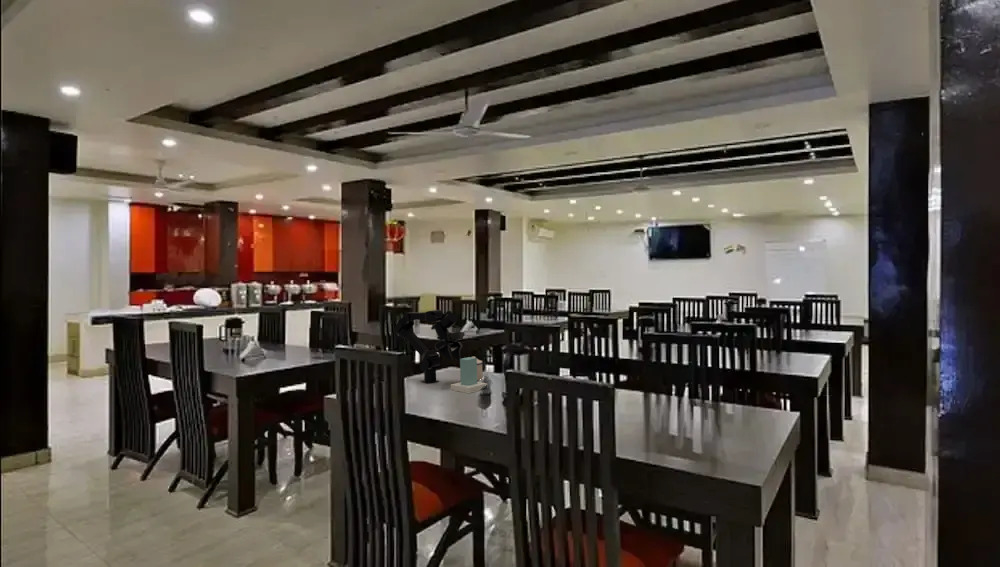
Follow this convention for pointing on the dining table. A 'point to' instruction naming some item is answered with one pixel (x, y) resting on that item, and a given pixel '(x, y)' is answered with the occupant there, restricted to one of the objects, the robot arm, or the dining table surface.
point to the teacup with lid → (479, 369)
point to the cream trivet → (467, 387)
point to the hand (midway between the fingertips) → (455, 361)
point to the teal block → (468, 371)
